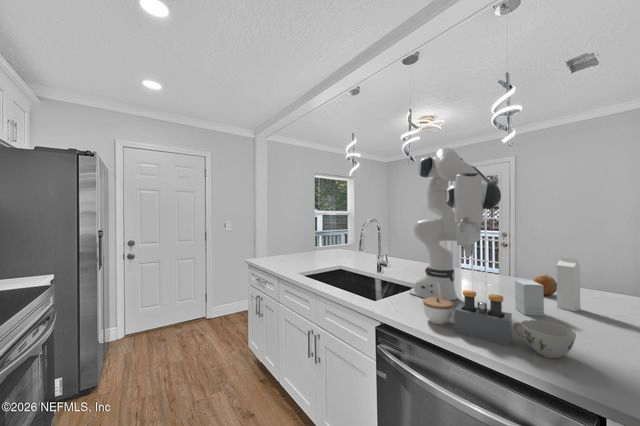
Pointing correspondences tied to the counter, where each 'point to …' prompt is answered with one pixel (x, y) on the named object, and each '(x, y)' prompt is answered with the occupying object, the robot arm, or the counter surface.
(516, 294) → the supplement box
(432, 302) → the lidded jar
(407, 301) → the counter surface
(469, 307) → the knob left
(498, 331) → the mount
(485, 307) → the shiny silver ball
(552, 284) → the onion
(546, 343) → the teacup
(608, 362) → the counter surface
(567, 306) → the milk
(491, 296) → the knob right
